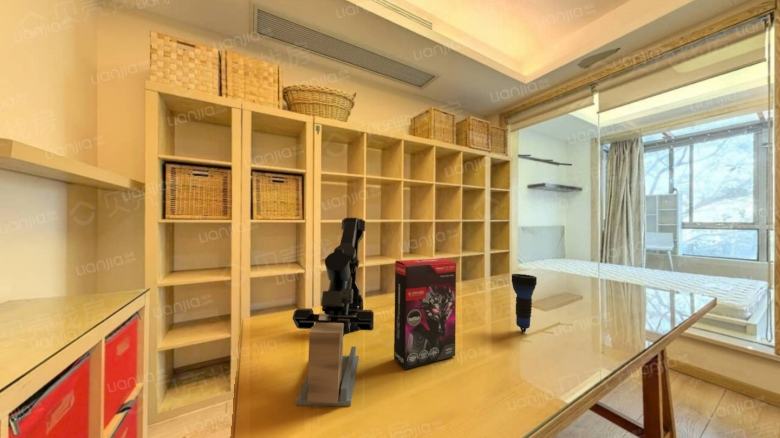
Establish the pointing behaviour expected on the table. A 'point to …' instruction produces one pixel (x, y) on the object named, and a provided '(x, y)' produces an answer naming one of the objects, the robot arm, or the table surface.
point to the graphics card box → (424, 311)
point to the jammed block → (325, 363)
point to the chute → (346, 388)
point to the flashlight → (523, 298)
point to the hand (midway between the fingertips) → (328, 357)
